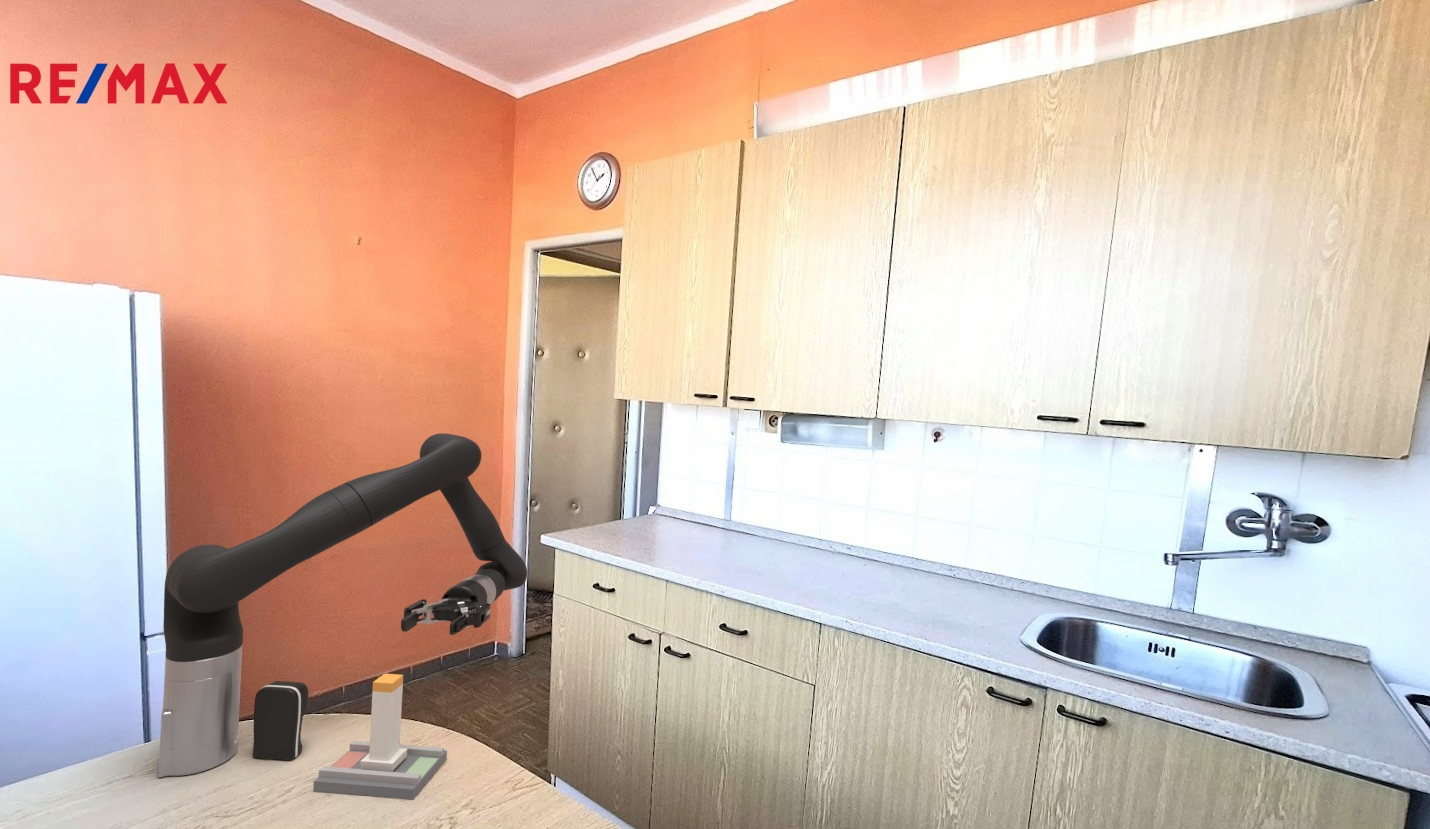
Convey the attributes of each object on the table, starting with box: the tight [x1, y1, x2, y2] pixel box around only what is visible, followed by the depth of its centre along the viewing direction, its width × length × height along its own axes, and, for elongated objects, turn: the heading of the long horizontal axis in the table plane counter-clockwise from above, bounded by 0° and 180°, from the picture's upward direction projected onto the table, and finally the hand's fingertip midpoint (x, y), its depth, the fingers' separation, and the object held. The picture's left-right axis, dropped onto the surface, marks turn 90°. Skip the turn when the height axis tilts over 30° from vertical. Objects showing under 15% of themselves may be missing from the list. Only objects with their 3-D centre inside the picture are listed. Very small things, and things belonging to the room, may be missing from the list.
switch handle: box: [360, 673, 407, 772], centre depth 92 cm, size 5×4×13 cm
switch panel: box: [312, 740, 448, 800], centre depth 92 cm, size 15×10×2 cm, turn 88°
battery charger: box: [252, 680, 310, 761], centre depth 96 cm, size 7×4×11 cm, turn 89°
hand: (427, 627), depth 103 cm, fingers open, 8 cm apart
